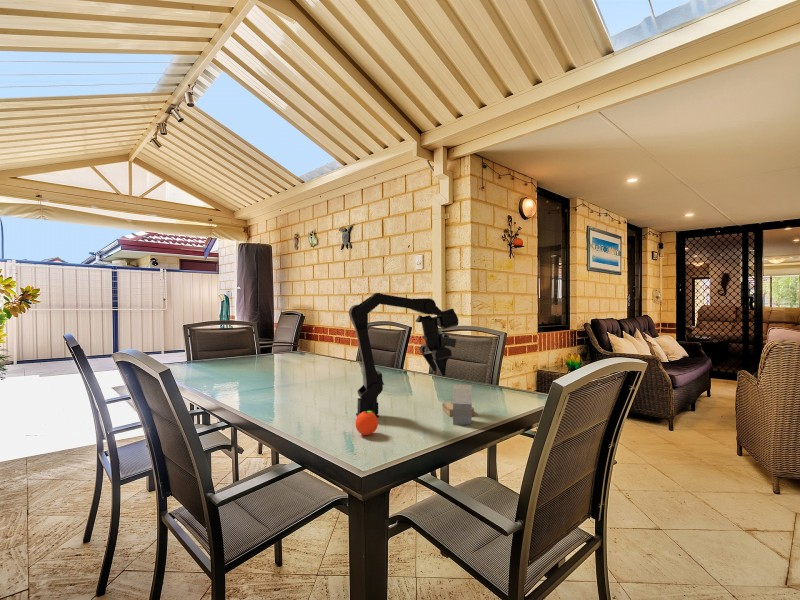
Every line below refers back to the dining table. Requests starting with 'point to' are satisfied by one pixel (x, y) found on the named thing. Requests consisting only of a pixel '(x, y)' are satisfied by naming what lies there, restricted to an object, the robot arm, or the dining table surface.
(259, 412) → the dining table surface
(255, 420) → the dining table surface
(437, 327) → the robot arm
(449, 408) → the stand
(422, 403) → the dining table surface
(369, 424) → the clementine
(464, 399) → the block
